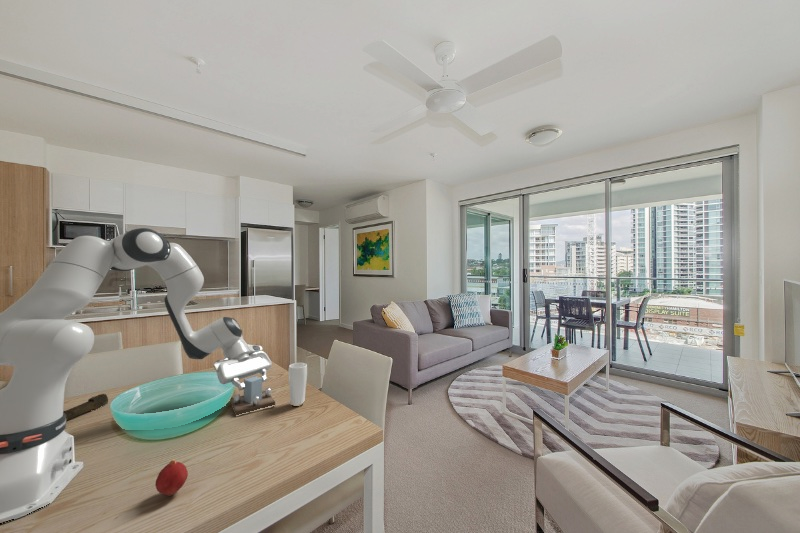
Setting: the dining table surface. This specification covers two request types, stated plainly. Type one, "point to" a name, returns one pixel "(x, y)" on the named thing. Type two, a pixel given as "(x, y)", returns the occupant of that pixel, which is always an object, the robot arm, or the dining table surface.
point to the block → (252, 388)
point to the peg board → (244, 407)
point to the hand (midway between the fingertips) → (254, 384)
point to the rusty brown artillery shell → (87, 406)
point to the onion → (171, 478)
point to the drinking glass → (297, 382)
